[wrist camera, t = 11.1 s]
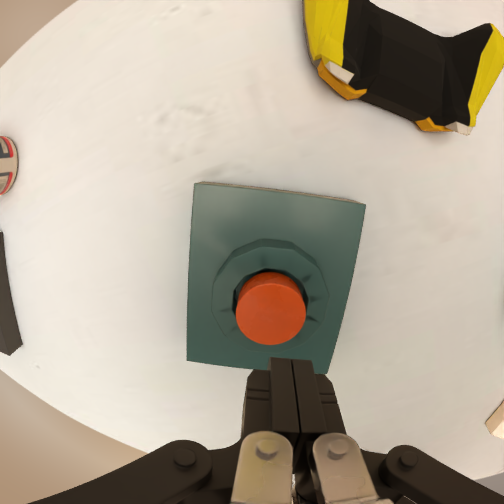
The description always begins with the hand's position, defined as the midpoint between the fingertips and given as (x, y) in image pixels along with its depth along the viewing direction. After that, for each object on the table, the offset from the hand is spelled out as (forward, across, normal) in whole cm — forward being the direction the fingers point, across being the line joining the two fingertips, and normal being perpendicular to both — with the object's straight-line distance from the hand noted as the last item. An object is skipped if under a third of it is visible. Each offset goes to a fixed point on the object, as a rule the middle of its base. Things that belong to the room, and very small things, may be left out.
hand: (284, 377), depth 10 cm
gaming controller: (+11, -6, -17) cm, 21 cm away
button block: (+10, 0, 0) cm, 10 cm away
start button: (+7, 0, 0) cm, 7 cm away
